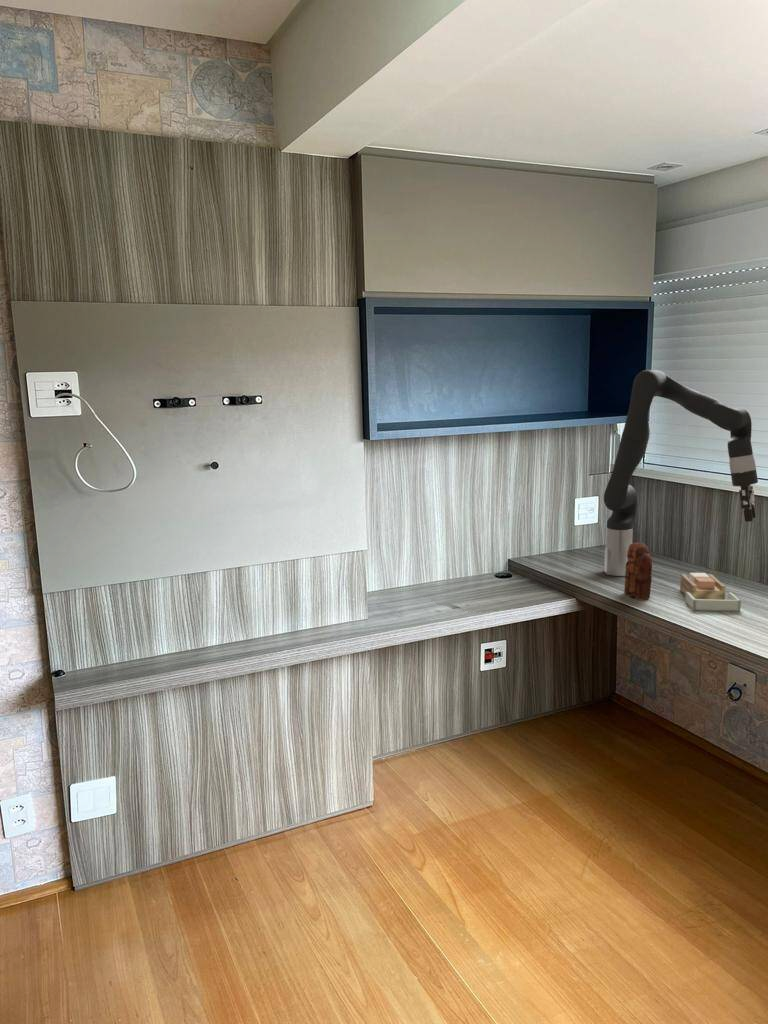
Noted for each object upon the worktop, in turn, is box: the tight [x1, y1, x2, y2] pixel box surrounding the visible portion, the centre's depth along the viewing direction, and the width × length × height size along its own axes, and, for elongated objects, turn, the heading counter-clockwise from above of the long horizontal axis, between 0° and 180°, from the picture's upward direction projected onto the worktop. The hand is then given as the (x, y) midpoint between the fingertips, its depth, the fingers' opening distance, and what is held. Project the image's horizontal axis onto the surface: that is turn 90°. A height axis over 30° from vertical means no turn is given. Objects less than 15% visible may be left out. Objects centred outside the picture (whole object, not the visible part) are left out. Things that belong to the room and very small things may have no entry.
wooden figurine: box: [623, 541, 653, 601], centre depth 256 cm, size 12×6×18 cm, turn 14°
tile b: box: [694, 577, 715, 589], centre depth 252 cm, size 5×5×2 cm
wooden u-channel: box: [679, 573, 726, 600], centre depth 255 cm, size 10×15×6 cm, turn 173°
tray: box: [685, 592, 742, 612], centre depth 243 cm, size 14×9×4 cm, turn 83°
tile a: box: [689, 572, 710, 583], centre depth 258 cm, size 5×5×2 cm
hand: (750, 519), depth 249 cm, fingers open, 8 cm apart
